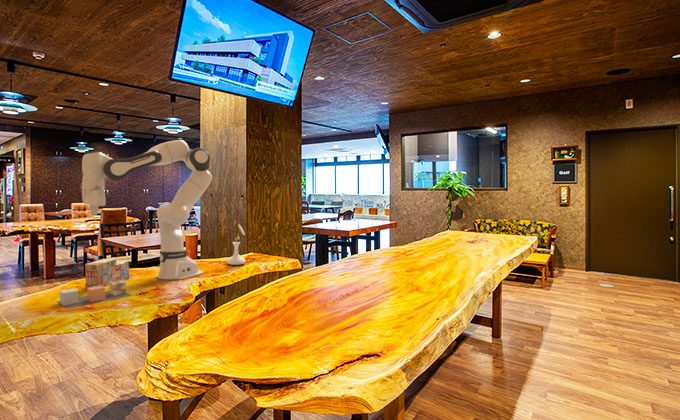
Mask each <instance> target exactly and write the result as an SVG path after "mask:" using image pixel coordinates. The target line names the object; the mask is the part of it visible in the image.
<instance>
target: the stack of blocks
mask: <svg viewBox="0 0 680 420" xmlns="http://www.w3.org/2000/svg"><path fill="white" fill-rule="evenodd" d="M84 269H85V270H84V275H85V277H84V278H85V289H86V290H87V288H89V287H95V286H100V285H101V286H103V287H104V288H105V287H108V286H109V287H110V282H114V281H120V280H122V281H126V280H129V279H130V262H129V260H128V261H127V260H117V259H116V258H102V259H98V260H95V261H92V262H88V263H85V264H84Z"/></svg>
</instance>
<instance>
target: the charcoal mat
mask: <svg viewBox="0 0 680 420" xmlns="http://www.w3.org/2000/svg"><path fill="white" fill-rule="evenodd" d="M129 297H133V294H130V293H128V292H127V291H126V293H125V294H120V295H115V296H114V295H112V294H110V290H109V291H105V299H104V300H99V301H94V302H90V301H89V300H88V299H87V295H82V296H79V303H75V304H70V305H65V306H64V305H62V304H61V303H60V300H56V303H58V304H59V305H60V306H61V307H63V308H64V309H65V310H70V309H75V308H81V307H84V306H89V305H93V304H99V303H104V302H108V301H114V300H118V299H123V298H129Z"/></svg>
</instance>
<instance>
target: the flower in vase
mask: <svg viewBox="0 0 680 420" xmlns="http://www.w3.org/2000/svg"><path fill="white" fill-rule="evenodd" d="M237 226H238V229H239V230H238V233H237V235H236V237H235V238H234V241H232V245H233V247H234V248H233V249H234V251H233V254H232V256H230V257H229V258H228V259H227V261H226V263H227V264H228V265H230V266H231V265H232V266H238V265H239V266H240V265H243V264H245V263H246V259H245V258H244V257H243V256H241V255H240V254H239V246H240V244H241V241H239V240H240V238H241V237H240V236H239V233H240V232H241V235H243V236H246V234H245V231H244V229H243V227H242V226H241V224H239V223H238V225H237Z"/></svg>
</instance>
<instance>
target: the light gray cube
mask: <svg viewBox="0 0 680 420" xmlns="http://www.w3.org/2000/svg"><path fill="white" fill-rule="evenodd" d="M79 293H80V292H79V290H78V289H76V288H70V289H68V288H67V289H64V290H63V289H62V290H59V301H60V303H61V304H62V305H64V306H65V305H70V304H75V303H79V297H80V295H79ZM62 305H61V306H62Z"/></svg>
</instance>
